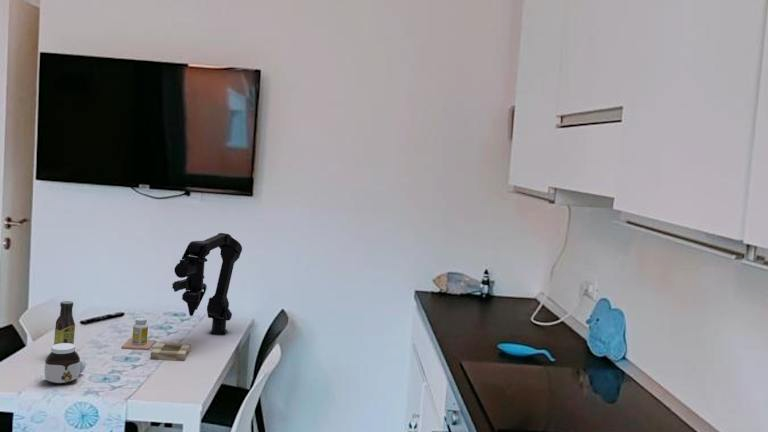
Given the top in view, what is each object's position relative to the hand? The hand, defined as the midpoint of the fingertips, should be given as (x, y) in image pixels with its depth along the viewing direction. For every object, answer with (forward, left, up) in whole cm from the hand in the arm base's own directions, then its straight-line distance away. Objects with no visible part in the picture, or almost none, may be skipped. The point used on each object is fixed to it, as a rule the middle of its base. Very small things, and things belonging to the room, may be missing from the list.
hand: (193, 312), depth 247 cm
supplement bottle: (+4, -19, -12) cm, 23 cm away
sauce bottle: (+22, -40, -13) cm, 48 cm away
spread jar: (+42, -32, -13) cm, 54 cm away
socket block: (+13, -5, -13) cm, 19 cm away
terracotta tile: (+4, -19, -13) cm, 23 cm away
